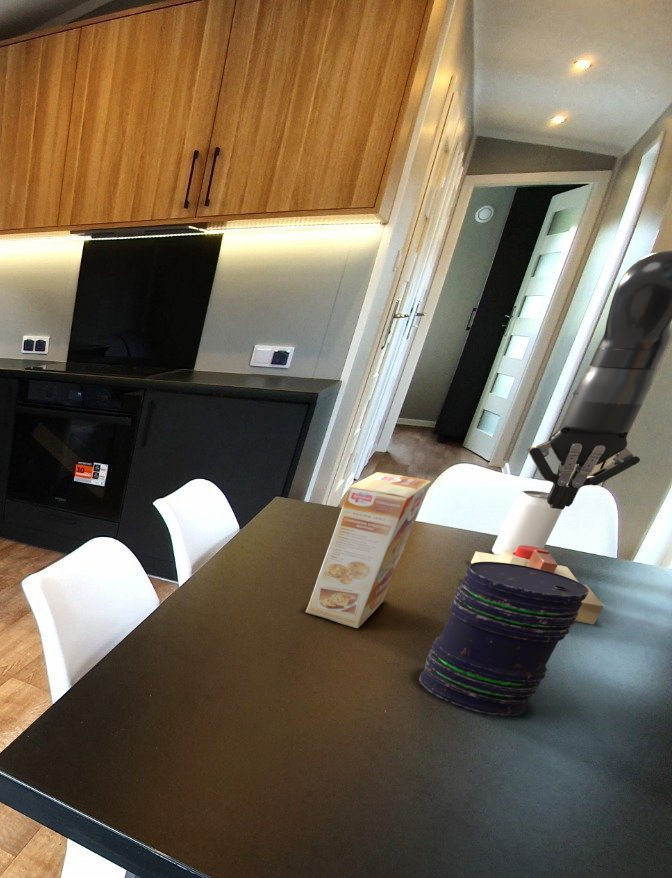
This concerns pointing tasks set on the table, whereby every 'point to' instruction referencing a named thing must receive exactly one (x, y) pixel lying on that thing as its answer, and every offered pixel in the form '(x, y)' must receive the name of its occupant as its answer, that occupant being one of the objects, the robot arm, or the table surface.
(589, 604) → the holder base
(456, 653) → the dark blue barrel
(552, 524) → the can
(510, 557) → the button box
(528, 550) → the button
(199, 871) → the table surface
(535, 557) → the holder
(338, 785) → the table surface
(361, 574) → the coffeecake box
